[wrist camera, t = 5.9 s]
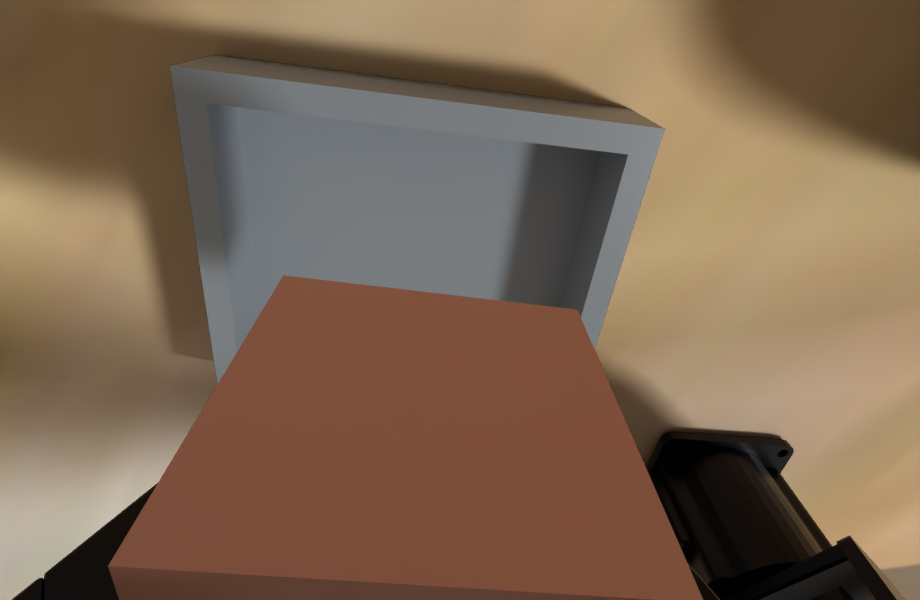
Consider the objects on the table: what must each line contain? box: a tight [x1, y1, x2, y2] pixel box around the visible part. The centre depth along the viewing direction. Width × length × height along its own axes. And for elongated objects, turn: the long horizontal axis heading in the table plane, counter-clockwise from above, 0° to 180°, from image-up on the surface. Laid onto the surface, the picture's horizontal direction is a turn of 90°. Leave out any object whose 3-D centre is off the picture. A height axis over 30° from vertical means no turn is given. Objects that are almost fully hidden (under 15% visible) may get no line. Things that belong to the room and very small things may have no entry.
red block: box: [108, 275, 703, 600], centre depth 8 cm, size 5×5×5 cm
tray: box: [170, 55, 665, 384], centre depth 18 cm, size 13×12×3 cm
